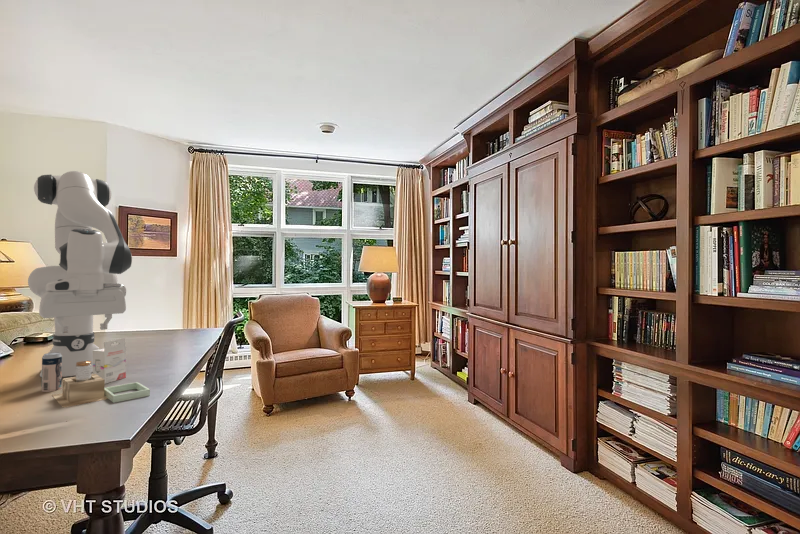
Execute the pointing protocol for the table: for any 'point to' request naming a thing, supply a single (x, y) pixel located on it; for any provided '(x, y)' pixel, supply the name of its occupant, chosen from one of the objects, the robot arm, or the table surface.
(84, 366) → the steel pin
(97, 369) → the ink cartridge box
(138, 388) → the tray
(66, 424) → the table surface
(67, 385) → the block
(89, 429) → the table surface
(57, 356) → the beer can
